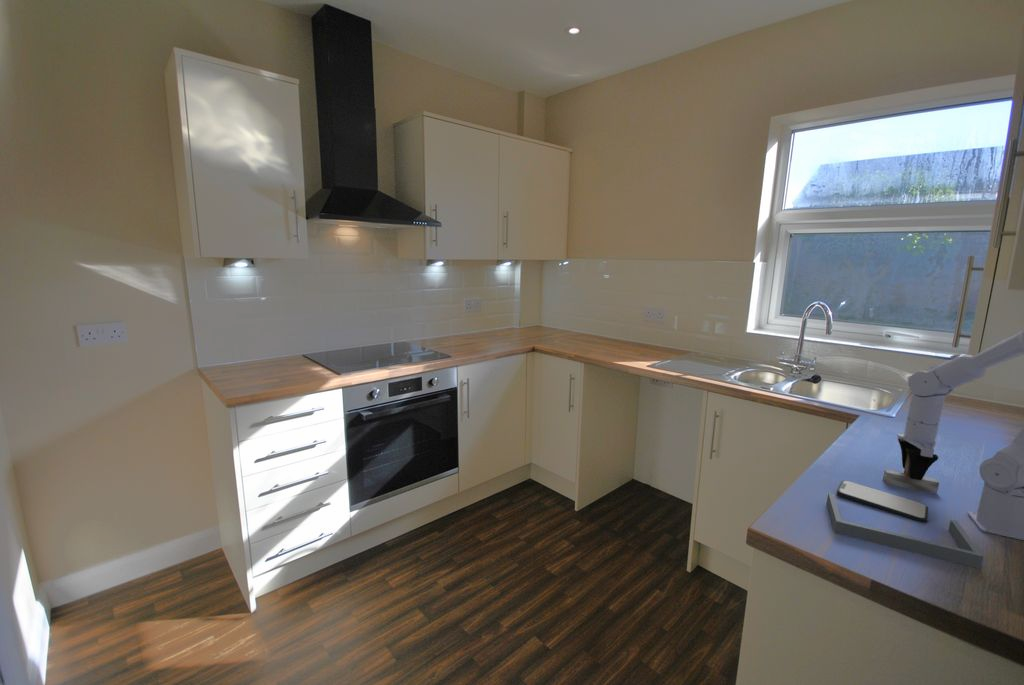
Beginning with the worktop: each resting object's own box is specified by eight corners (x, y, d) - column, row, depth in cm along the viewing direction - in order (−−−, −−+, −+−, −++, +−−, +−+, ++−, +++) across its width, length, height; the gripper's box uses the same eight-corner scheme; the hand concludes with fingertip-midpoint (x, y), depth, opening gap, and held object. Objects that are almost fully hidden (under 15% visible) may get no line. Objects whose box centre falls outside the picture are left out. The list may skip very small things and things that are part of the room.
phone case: (926, 511, 105) (841, 484, 115) (928, 504, 104) (842, 478, 115) (925, 527, 98) (835, 497, 109) (927, 520, 98) (836, 491, 108)
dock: (954, 532, 96) (957, 521, 95) (980, 568, 84) (983, 556, 84) (826, 503, 105) (828, 492, 105) (834, 532, 94) (836, 521, 94)
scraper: (933, 490, 113) (941, 455, 111) (936, 494, 111) (944, 459, 109) (882, 480, 118) (888, 446, 116) (884, 484, 116) (891, 450, 114)
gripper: (894, 409, 119) (884, 458, 122) (909, 426, 107) (898, 482, 109) (929, 414, 116) (919, 465, 119) (950, 433, 103) (937, 489, 106)
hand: (911, 473), depth 114 cm, fingers open, 5 cm apart
